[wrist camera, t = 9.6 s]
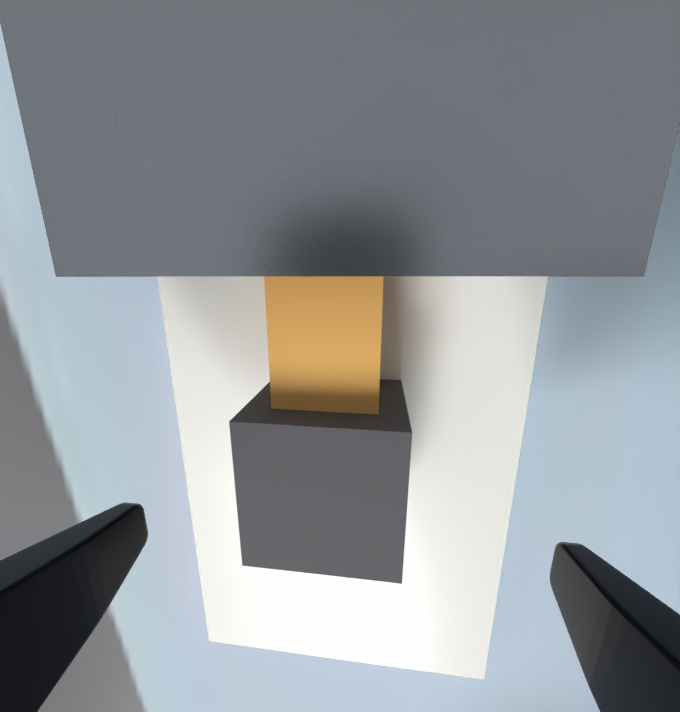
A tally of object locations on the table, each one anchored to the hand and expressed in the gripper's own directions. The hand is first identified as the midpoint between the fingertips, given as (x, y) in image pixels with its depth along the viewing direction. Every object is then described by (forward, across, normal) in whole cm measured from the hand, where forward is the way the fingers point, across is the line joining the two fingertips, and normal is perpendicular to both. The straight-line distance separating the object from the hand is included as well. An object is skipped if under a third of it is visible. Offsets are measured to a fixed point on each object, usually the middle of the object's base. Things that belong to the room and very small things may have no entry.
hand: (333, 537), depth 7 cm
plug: (+4, 0, -4) cm, 6 cm away
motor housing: (+4, 0, -8) cm, 9 cm away
